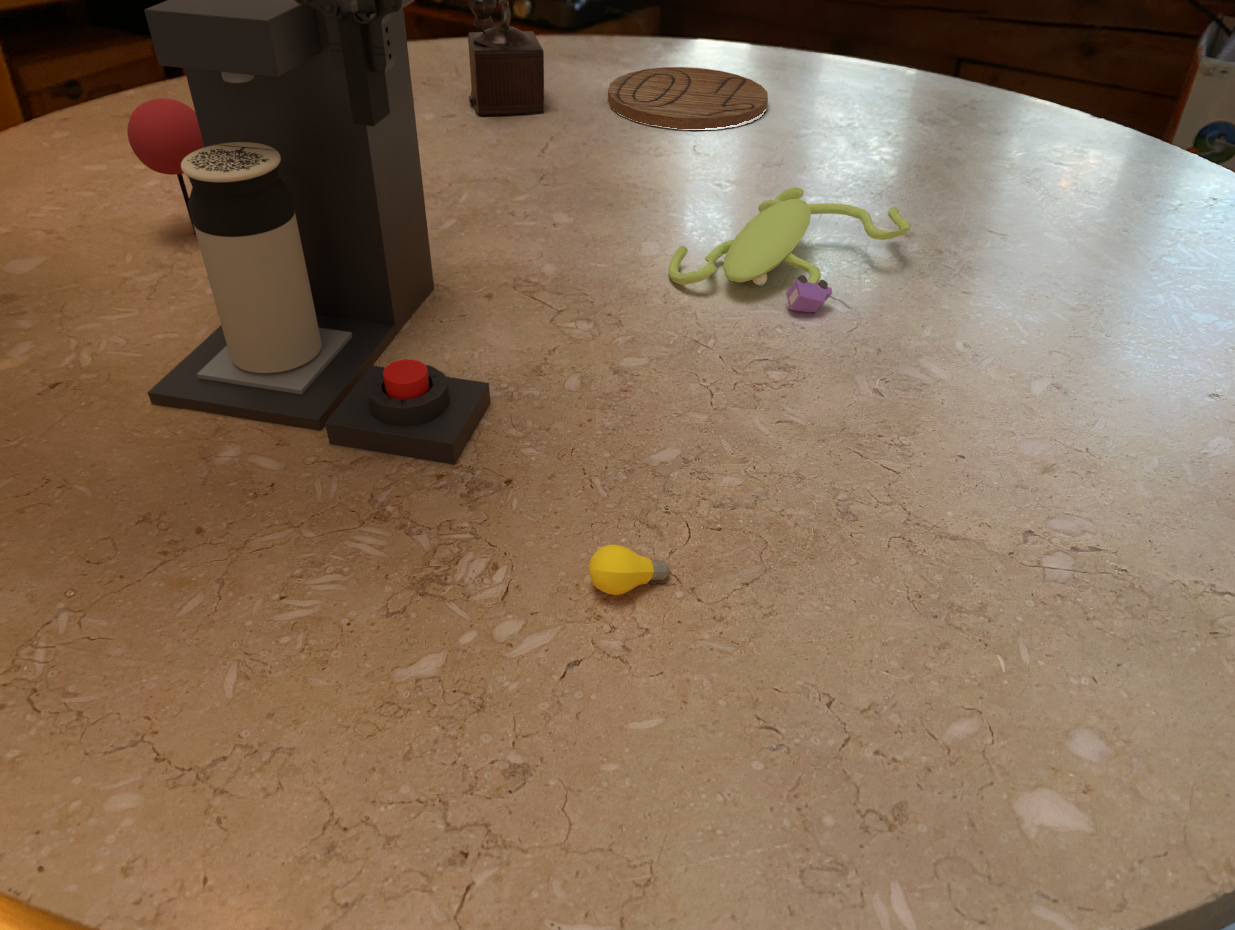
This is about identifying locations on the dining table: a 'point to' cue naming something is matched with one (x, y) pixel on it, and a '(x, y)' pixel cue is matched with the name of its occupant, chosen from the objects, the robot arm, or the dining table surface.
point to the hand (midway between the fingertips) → (372, 118)
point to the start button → (406, 379)
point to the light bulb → (623, 569)
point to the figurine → (780, 247)
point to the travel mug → (253, 255)
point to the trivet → (687, 97)
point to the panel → (410, 417)
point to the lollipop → (165, 137)
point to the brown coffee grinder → (504, 64)
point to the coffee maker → (305, 195)
